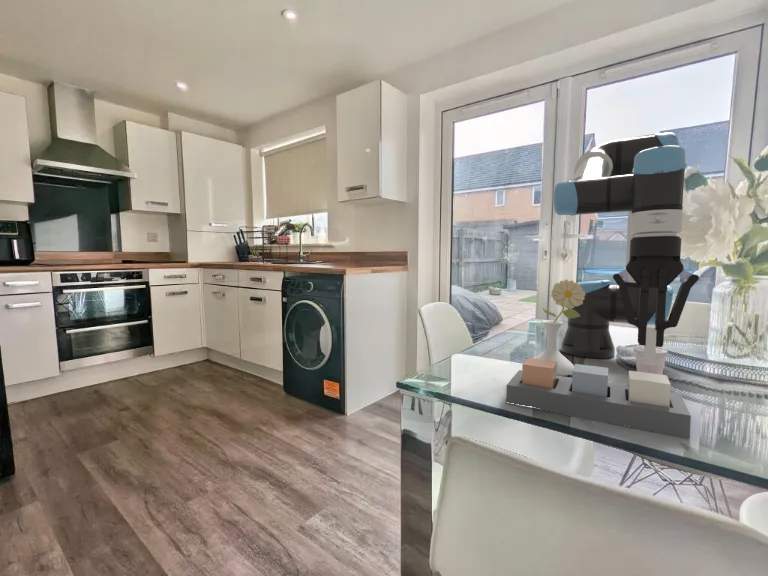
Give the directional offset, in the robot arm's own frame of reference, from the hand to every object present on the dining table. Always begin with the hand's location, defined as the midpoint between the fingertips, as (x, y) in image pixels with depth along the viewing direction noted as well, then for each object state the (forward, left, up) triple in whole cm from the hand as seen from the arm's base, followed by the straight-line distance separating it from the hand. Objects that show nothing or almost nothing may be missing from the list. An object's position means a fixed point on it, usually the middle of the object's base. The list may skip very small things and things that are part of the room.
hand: (649, 363), depth 69 cm
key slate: (0, -9, -8) cm, 12 cm away
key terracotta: (0, -19, -8) cm, 21 cm away
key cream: (0, 0, -8) cm, 8 cm away
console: (0, -9, -11) cm, 14 cm away
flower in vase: (-21, -18, -11) cm, 30 cm away
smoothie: (-18, +2, -11) cm, 21 cm away
